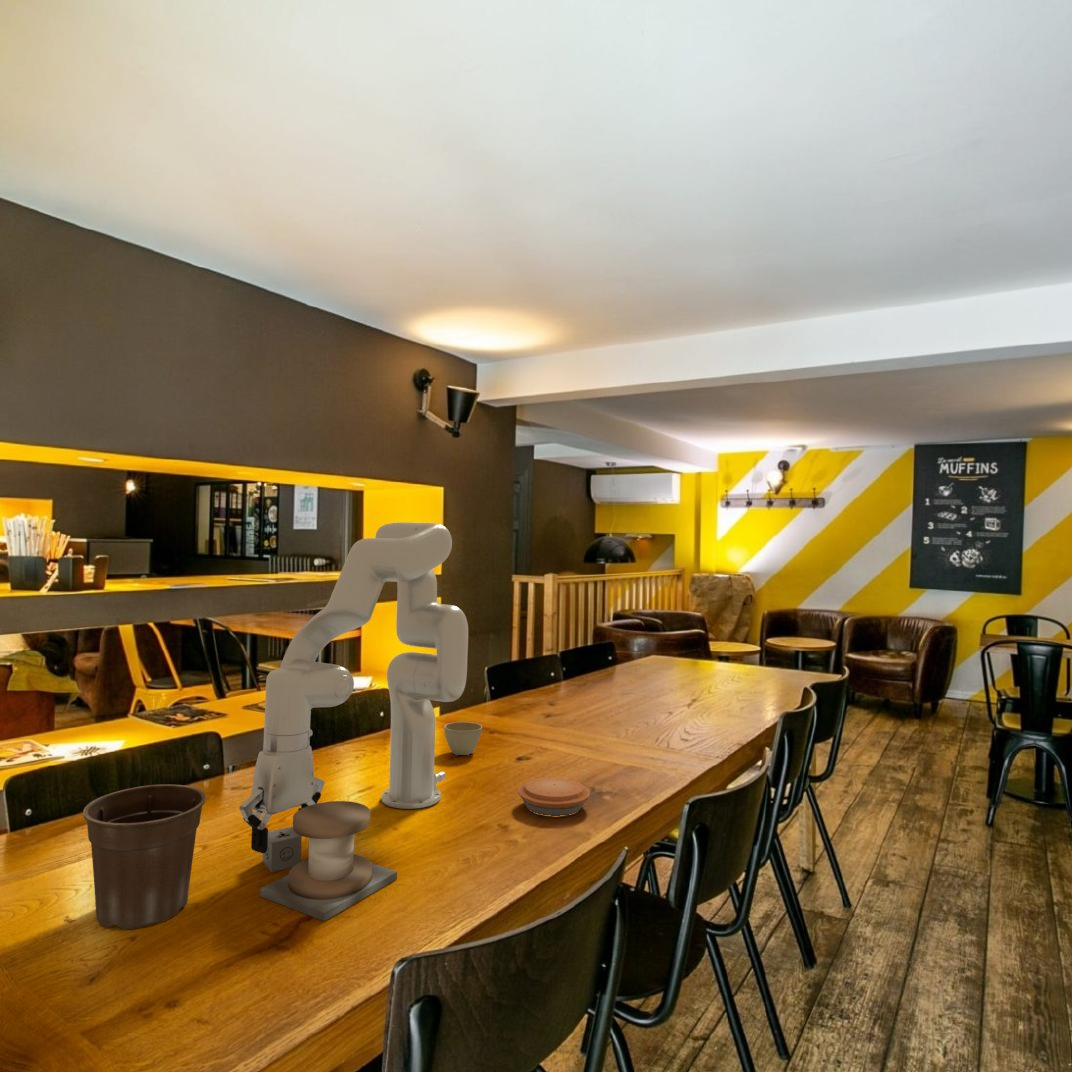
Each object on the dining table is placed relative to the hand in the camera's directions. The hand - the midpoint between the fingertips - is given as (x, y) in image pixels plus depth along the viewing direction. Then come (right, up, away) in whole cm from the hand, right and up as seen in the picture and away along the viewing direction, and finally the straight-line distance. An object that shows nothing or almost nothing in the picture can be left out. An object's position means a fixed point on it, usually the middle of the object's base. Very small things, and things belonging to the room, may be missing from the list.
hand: (282, 841), depth 125 cm
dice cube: (0, -4, +1) cm, 4 cm away
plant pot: (-15, -4, -16) cm, 22 cm away
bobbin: (+10, -4, -8) cm, 14 cm away
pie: (+47, -6, +30) cm, 56 cm away
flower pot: (+24, -5, +68) cm, 72 cm away
